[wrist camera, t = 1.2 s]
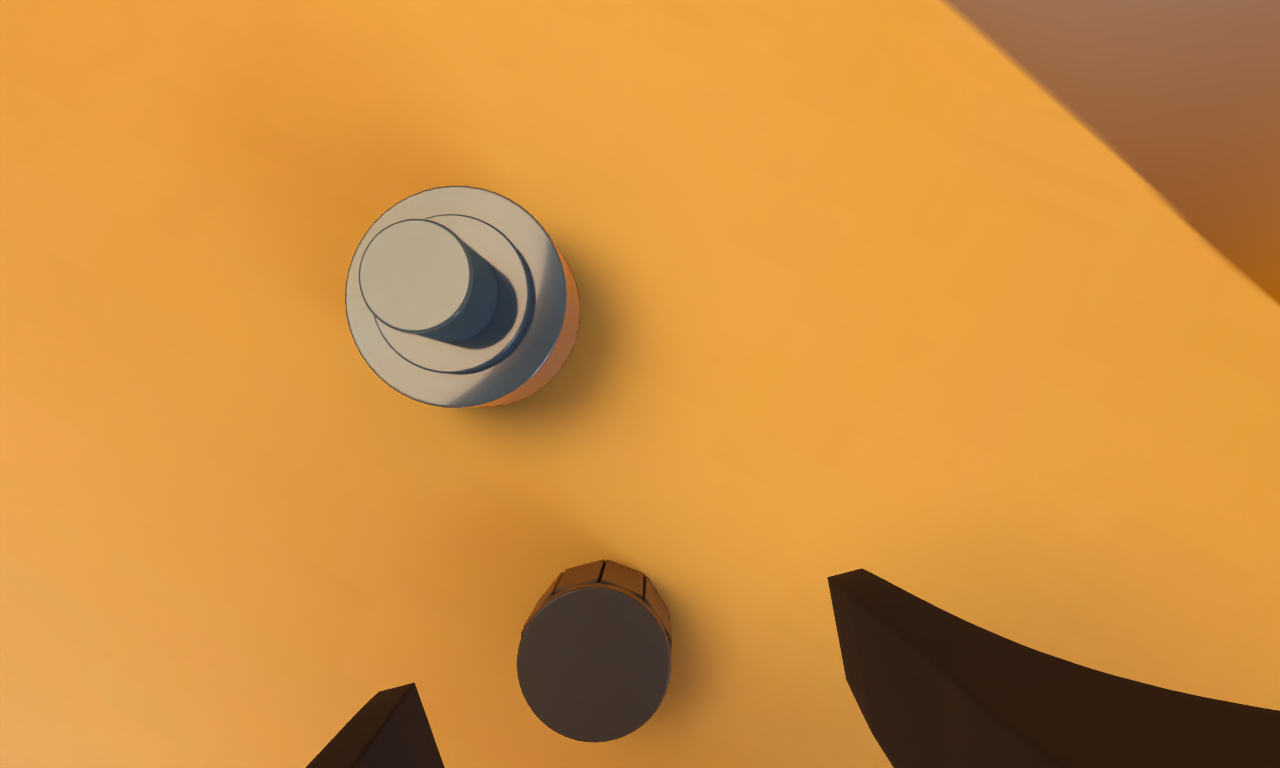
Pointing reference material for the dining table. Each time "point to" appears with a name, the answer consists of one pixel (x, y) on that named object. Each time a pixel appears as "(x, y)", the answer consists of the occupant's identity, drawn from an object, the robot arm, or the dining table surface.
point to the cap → (596, 653)
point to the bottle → (461, 299)
